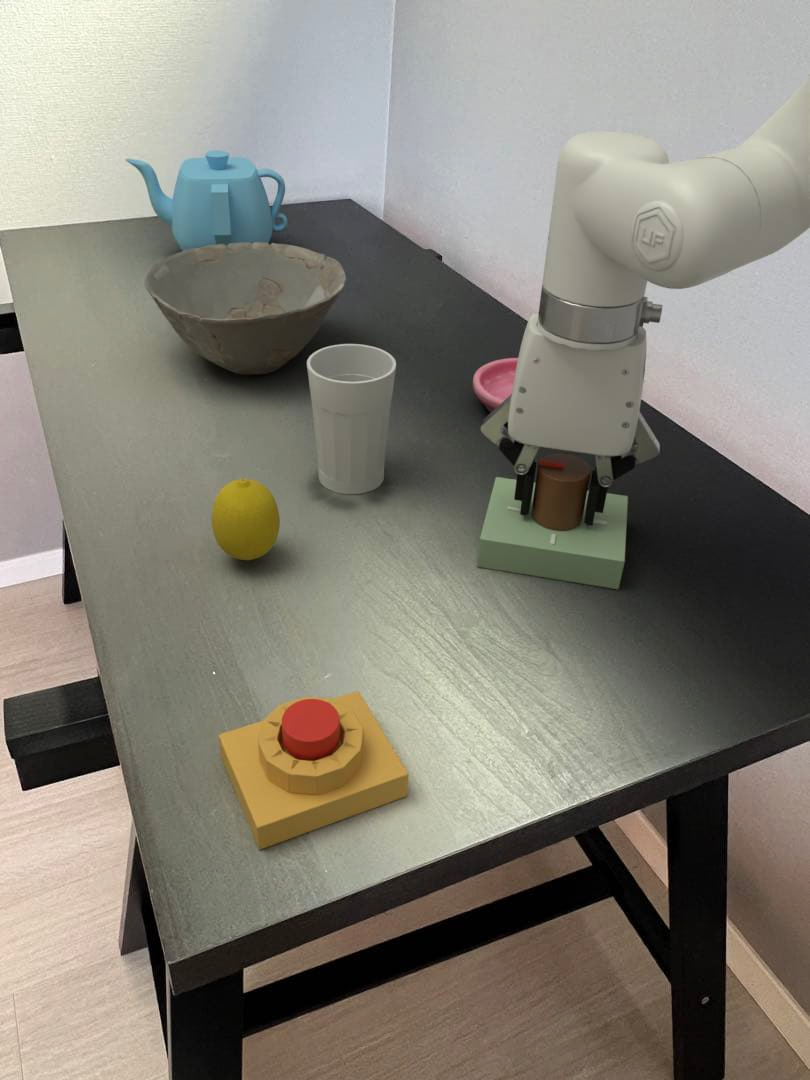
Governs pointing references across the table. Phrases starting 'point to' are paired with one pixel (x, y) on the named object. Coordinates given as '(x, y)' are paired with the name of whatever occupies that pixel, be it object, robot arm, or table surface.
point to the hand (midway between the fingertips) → (557, 509)
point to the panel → (553, 541)
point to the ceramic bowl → (246, 301)
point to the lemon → (245, 519)
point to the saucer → (495, 382)
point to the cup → (351, 414)
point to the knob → (560, 491)
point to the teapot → (216, 201)
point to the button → (311, 729)
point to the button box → (311, 773)
